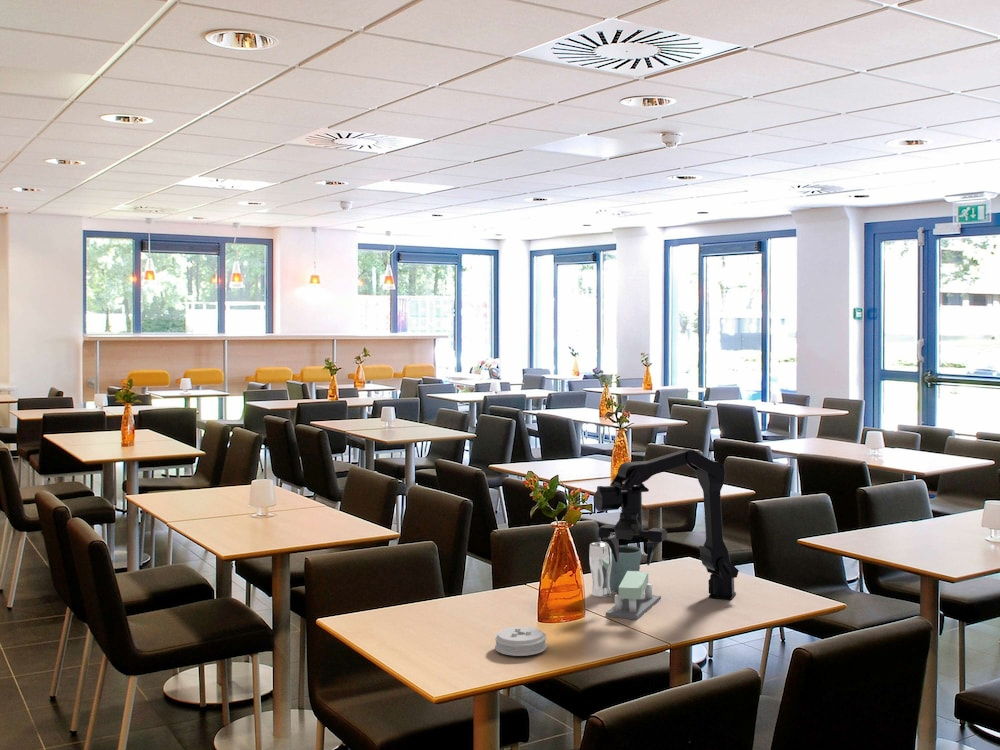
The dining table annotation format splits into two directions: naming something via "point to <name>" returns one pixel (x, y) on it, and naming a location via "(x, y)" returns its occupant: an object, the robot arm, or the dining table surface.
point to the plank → (633, 585)
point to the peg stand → (633, 605)
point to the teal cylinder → (625, 564)
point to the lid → (520, 641)
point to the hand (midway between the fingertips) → (632, 563)
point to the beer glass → (601, 568)
